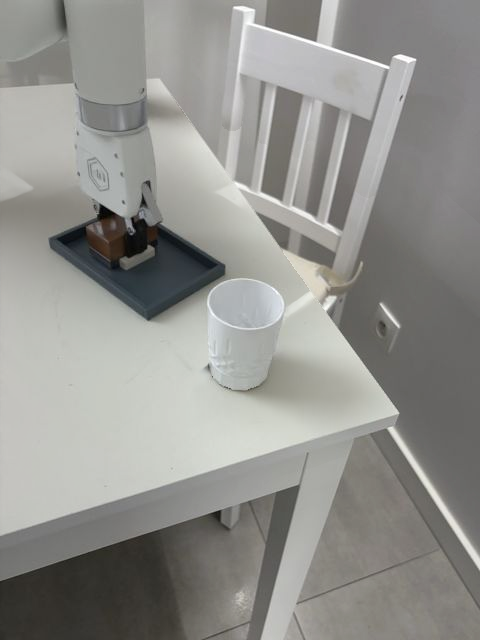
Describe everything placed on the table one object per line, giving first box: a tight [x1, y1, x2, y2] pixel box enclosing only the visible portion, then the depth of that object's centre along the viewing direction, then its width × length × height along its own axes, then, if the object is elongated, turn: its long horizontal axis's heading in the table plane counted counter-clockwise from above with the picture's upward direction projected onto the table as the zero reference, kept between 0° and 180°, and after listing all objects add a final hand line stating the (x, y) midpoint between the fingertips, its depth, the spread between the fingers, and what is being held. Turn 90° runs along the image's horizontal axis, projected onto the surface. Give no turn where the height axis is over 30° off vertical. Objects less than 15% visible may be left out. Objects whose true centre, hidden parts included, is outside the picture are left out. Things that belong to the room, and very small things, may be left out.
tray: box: [48, 217, 226, 321], centre depth 73 cm, size 19×13×2 cm
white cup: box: [206, 277, 286, 391], centre depth 59 cm, size 8×8×10 cm
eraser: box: [86, 213, 158, 269], centre depth 72 cm, size 4×8×4 cm, turn 140°
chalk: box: [119, 245, 155, 270], centre depth 72 cm, size 1×5×1 cm, turn 140°
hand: (123, 244), depth 73 cm, fingers closed on eraser, 4 cm apart
